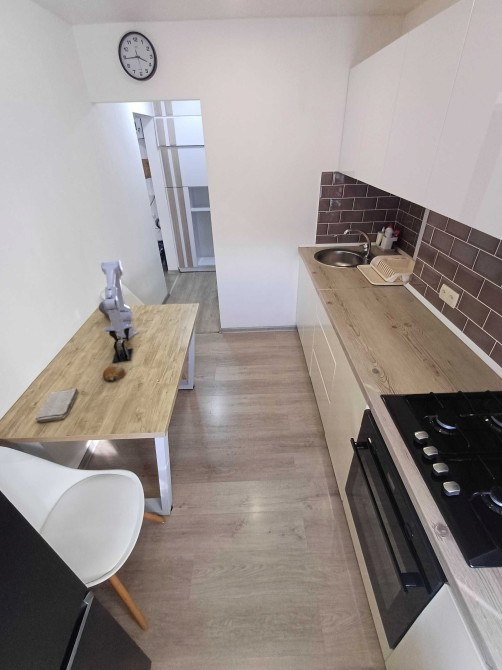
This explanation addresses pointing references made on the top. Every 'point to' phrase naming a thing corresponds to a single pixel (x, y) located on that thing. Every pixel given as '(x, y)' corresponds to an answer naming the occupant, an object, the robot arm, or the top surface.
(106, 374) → the bread roll
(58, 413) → the washcloth
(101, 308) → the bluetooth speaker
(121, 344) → the tap lever
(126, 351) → the tap bracket
